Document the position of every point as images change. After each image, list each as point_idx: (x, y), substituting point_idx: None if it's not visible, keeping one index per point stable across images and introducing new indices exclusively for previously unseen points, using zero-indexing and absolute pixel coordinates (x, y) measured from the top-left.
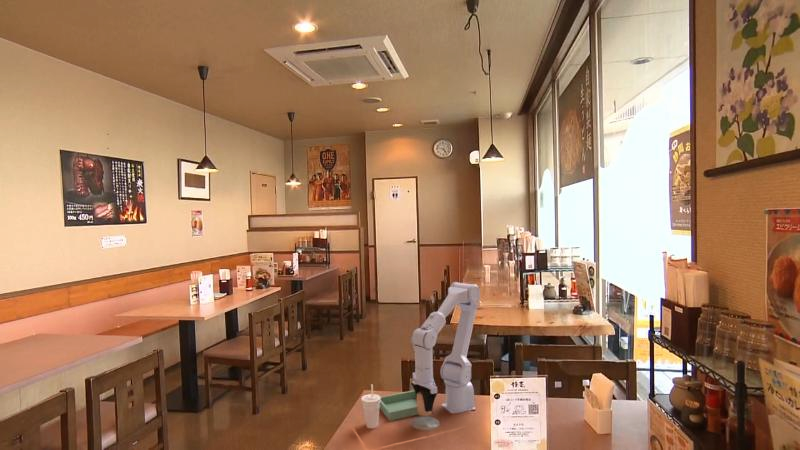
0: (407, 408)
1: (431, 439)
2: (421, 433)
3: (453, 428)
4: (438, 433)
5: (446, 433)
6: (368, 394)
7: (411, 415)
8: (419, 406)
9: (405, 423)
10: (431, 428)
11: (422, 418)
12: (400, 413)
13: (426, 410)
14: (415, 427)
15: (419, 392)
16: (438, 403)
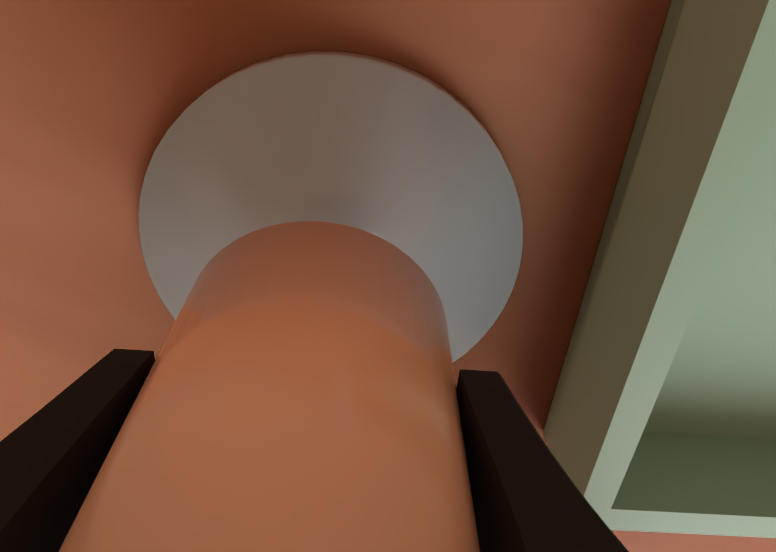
0: (714, 188)
1: None
2: (136, 82)
3: None
4: (70, 268)
5: (45, 337)
6: None
7: (629, 195)
8: (226, 328)
9: (530, 14)
10: (160, 248)
11: (467, 280)
12: (726, 11)
13: (96, 369)
14: (275, 69)
15: None
16: (674, 545)
